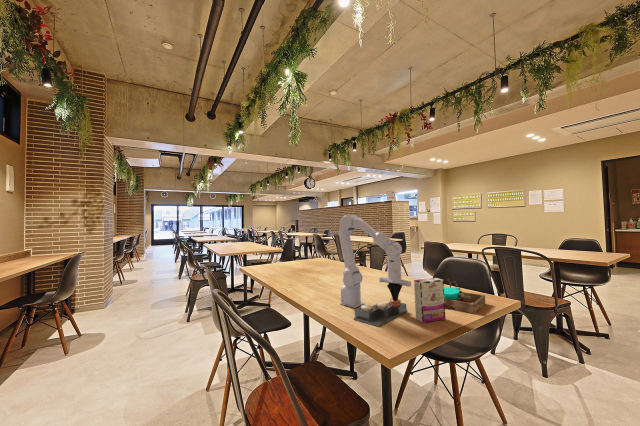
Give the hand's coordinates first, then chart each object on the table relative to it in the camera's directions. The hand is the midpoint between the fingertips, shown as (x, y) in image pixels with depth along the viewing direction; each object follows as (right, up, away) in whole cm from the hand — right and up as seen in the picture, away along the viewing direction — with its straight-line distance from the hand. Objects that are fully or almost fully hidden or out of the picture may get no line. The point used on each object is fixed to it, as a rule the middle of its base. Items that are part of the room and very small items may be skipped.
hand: (395, 300), depth 121 cm
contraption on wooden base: (+31, -5, +9) cm, 33 cm away
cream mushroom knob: (-14, -4, -6) cm, 16 cm away
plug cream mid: (-7, -4, -3) cm, 9 cm away
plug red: (0, -4, 0) cm, 4 cm away
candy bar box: (+12, -5, -10) cm, 16 cm away
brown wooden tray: (+32, -5, +10) cm, 34 cm away
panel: (-7, -5, -3) cm, 9 cm away
